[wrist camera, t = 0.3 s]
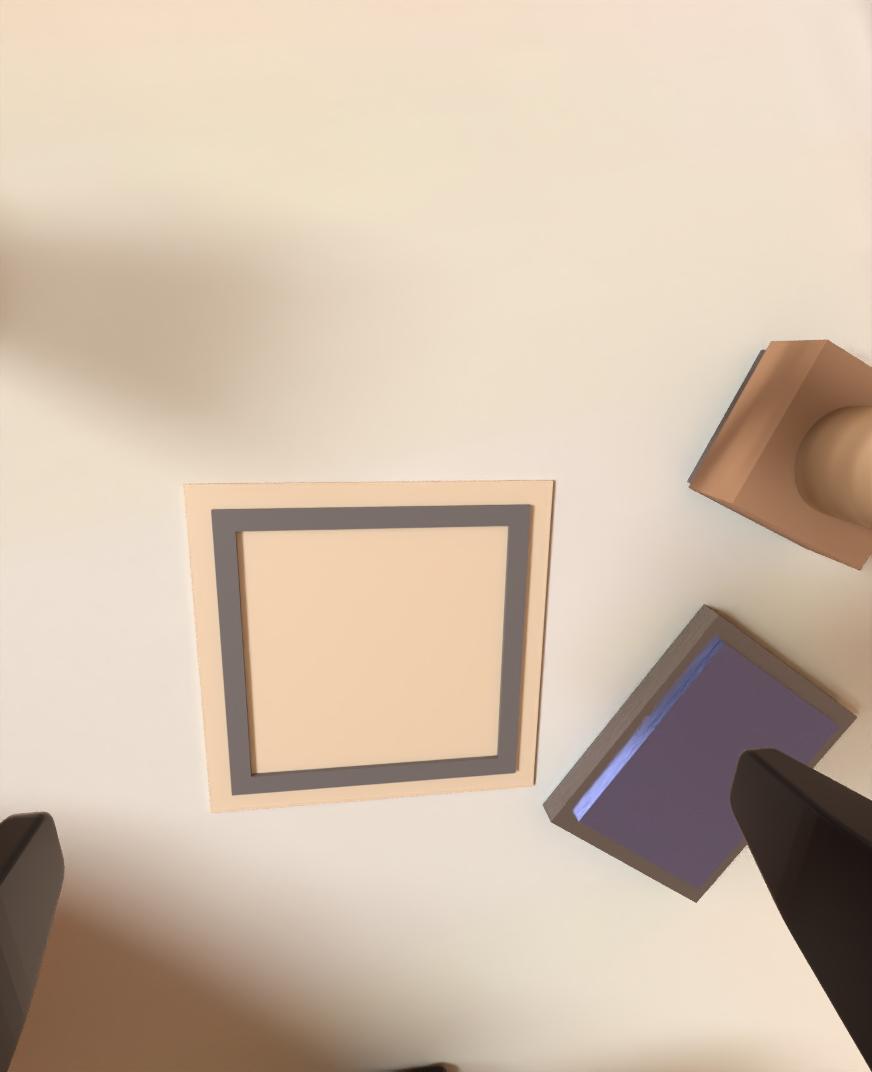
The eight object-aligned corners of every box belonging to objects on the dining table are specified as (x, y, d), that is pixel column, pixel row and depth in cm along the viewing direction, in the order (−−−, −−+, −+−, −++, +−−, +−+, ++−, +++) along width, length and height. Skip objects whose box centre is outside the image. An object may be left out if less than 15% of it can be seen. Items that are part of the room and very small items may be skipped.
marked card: (532, 784, 26) (534, 789, 25) (211, 811, 24) (210, 816, 24) (552, 480, 22) (555, 481, 22) (184, 484, 21) (182, 485, 20)
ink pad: (683, 884, 28) (700, 908, 27) (542, 804, 26) (553, 827, 25) (838, 704, 27) (863, 721, 26) (703, 604, 25) (723, 617, 23)
